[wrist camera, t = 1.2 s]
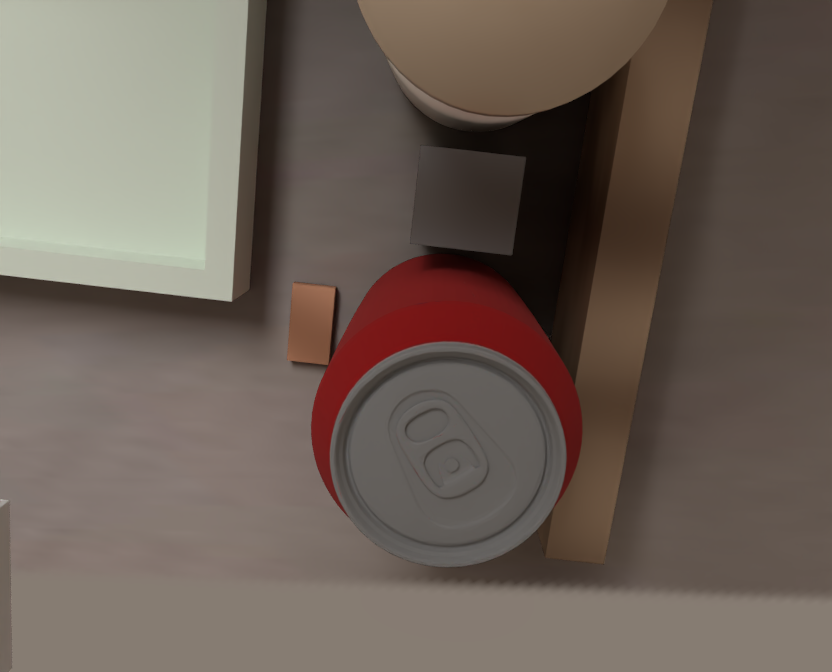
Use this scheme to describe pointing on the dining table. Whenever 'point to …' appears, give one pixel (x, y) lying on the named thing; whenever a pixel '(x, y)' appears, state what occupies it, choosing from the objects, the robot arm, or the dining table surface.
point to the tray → (131, 142)
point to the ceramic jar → (504, 53)
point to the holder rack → (574, 254)
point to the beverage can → (446, 415)
